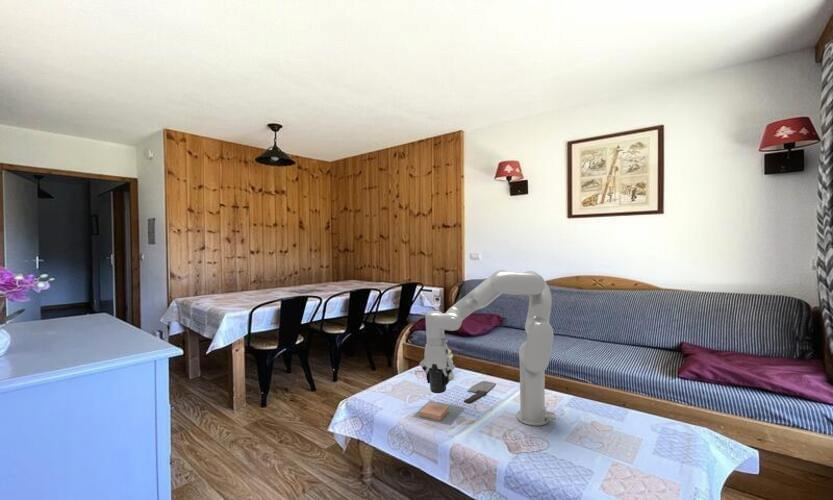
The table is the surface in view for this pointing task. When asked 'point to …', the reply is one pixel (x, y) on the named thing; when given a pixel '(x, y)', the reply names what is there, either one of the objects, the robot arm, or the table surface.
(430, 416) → the tile
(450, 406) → the slate mat
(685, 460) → the table surface
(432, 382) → the supplement bottle
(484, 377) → the table surface
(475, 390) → the cleaver
